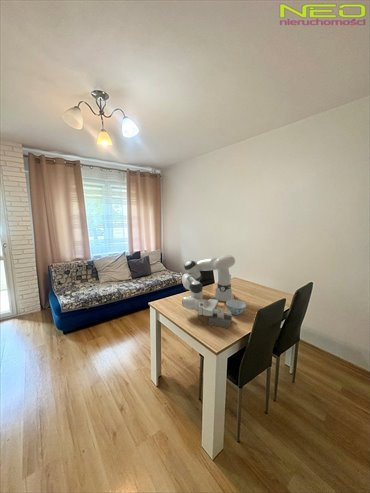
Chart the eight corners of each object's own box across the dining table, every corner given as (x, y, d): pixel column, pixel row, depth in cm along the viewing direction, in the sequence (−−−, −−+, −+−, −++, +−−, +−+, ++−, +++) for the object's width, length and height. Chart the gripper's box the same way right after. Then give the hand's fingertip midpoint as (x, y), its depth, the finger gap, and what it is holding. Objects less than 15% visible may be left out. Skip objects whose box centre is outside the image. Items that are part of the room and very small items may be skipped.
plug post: (218, 318, 144) (219, 302, 142) (223, 319, 142) (224, 303, 141) (216, 320, 140) (217, 304, 138) (222, 322, 139) (223, 305, 137)
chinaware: (236, 320, 145) (237, 309, 144) (221, 311, 157) (222, 302, 156) (249, 314, 154) (250, 304, 152) (234, 307, 166) (234, 298, 164)
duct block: (212, 316, 150) (213, 310, 149) (231, 320, 145) (232, 314, 144) (208, 324, 139) (208, 318, 138) (228, 328, 133) (229, 322, 133)
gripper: (206, 303, 155) (224, 307, 150) (198, 315, 136) (218, 320, 131) (207, 296, 154) (225, 299, 149) (198, 307, 135) (219, 310, 130)
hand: (222, 309), depth 140 cm, fingers open, 8 cm apart
